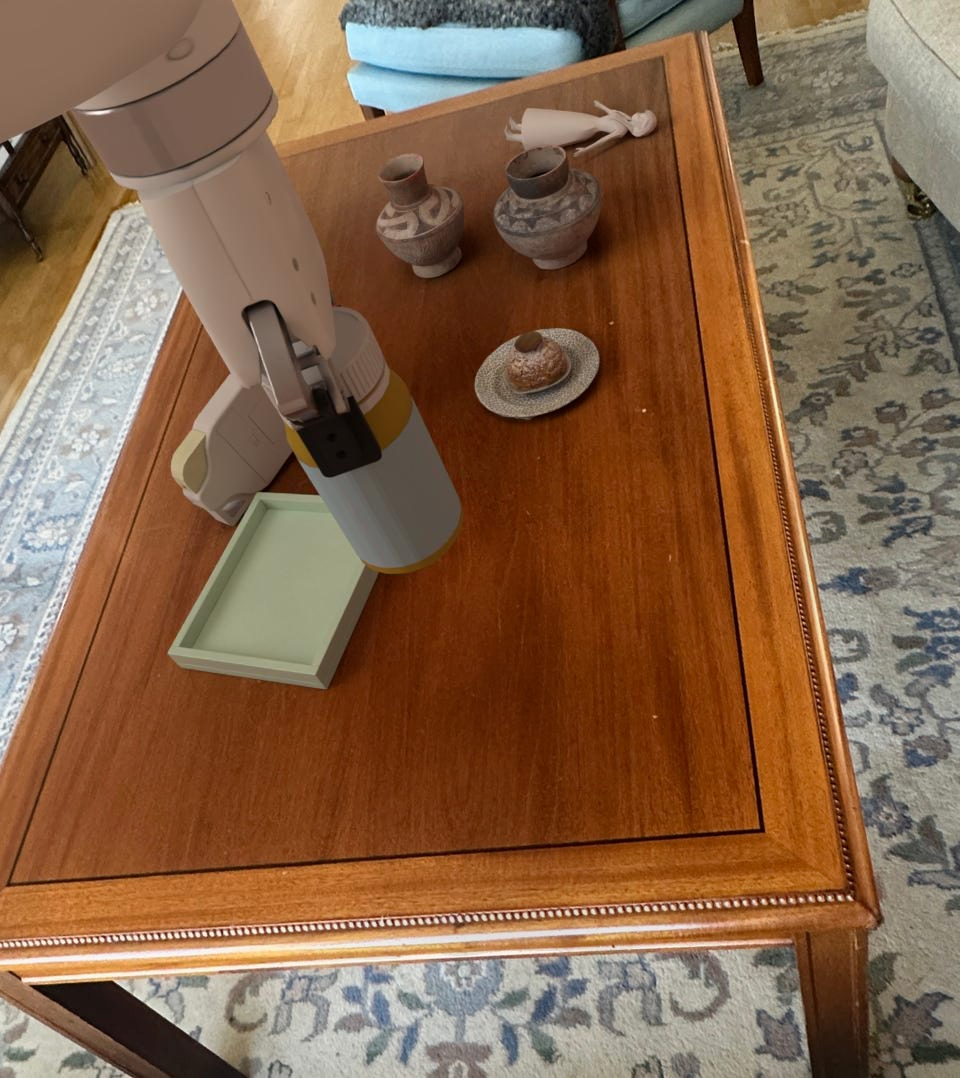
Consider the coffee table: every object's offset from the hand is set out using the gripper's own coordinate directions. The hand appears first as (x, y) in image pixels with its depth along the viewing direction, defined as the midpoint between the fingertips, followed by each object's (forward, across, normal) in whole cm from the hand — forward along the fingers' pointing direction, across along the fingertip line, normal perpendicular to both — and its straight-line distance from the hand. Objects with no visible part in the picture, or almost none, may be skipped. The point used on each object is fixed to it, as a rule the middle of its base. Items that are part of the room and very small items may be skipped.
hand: (346, 415), depth 52 cm
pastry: (+28, -31, +11) cm, 43 cm away
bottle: (+10, 0, 0) cm, 10 cm away
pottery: (+28, -52, +11) cm, 60 cm away
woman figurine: (+28, -70, +25) cm, 79 cm away
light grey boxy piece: (+28, -31, -16) cm, 45 cm away
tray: (+28, -15, -15) cm, 35 cm away
